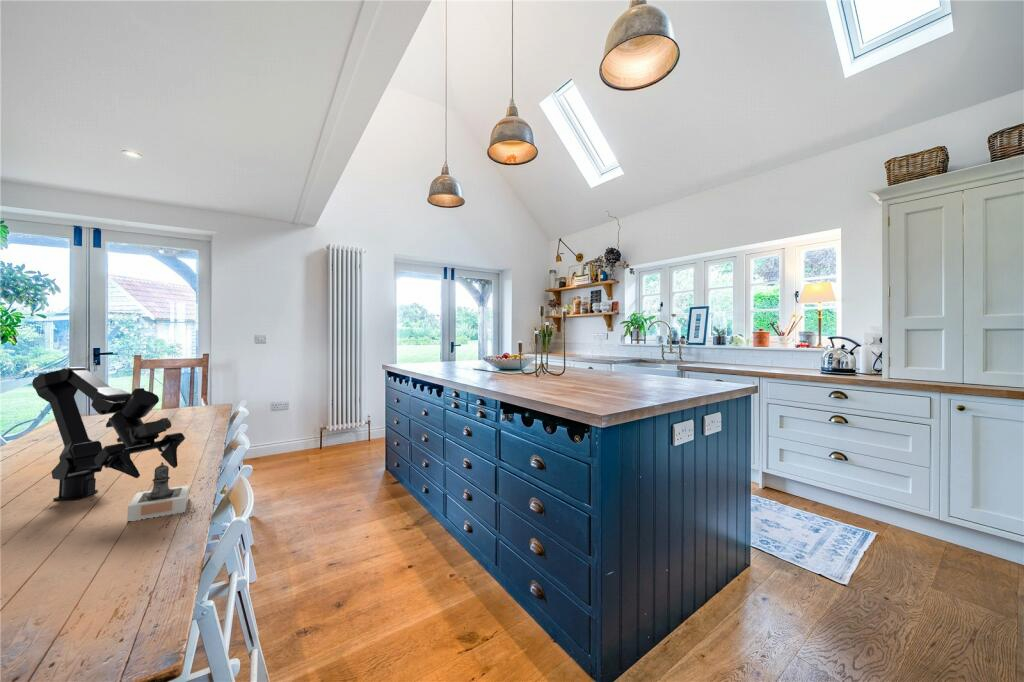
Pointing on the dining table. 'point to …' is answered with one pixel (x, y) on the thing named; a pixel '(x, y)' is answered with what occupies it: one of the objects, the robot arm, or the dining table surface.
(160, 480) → the dark chess piece
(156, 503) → the tagged holder
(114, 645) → the dining table surface
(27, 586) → the dining table surface
